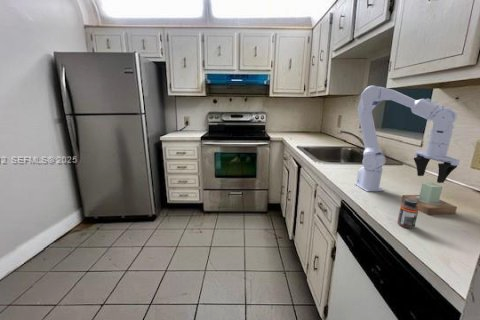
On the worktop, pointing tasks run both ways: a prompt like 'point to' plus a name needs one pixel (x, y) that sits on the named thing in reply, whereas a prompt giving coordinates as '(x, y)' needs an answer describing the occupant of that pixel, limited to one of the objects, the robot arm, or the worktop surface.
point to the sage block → (430, 192)
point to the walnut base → (432, 206)
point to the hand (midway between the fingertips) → (429, 179)
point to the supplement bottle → (408, 213)
